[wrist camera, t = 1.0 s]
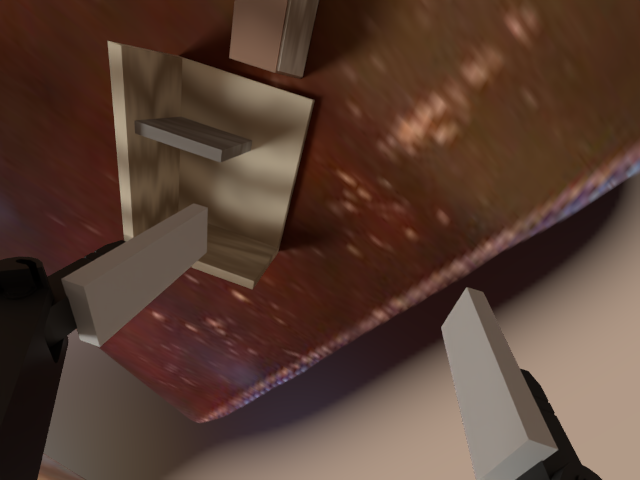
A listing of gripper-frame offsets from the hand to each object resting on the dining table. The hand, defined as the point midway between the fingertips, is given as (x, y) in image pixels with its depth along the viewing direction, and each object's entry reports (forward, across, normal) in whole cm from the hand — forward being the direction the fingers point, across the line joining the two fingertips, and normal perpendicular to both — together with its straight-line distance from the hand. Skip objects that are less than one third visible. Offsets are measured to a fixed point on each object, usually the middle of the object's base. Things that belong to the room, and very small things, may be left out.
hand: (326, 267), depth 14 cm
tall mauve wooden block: (+21, -11, +11) cm, 26 cm away
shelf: (+21, -15, -4) cm, 26 cm away
